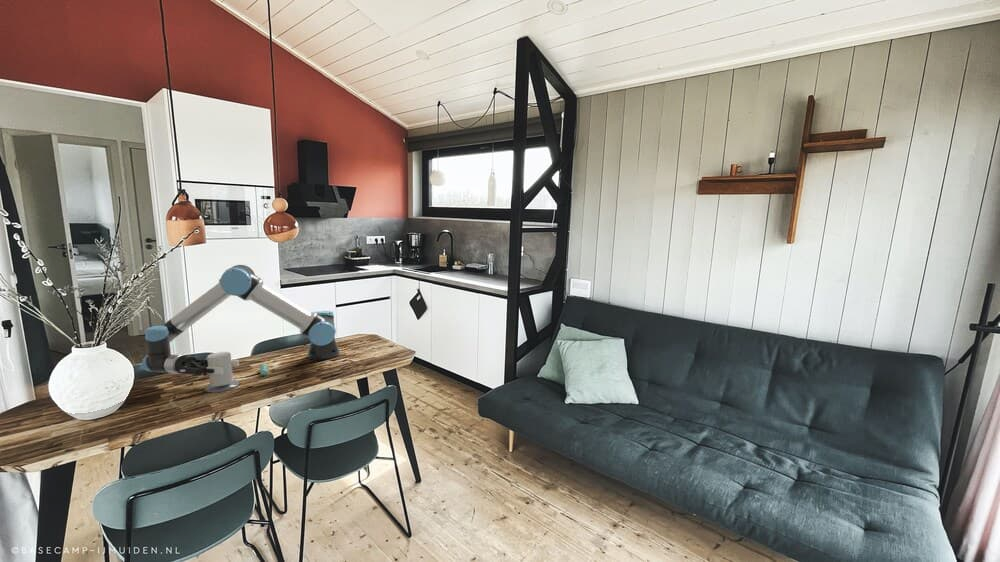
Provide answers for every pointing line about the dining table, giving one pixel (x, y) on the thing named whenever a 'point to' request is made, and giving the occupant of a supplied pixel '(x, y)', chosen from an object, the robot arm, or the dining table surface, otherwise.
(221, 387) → the metal disc
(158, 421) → the dining table surface
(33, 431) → the dining table surface
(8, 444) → the dining table surface
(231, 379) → the cup
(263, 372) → the marble
